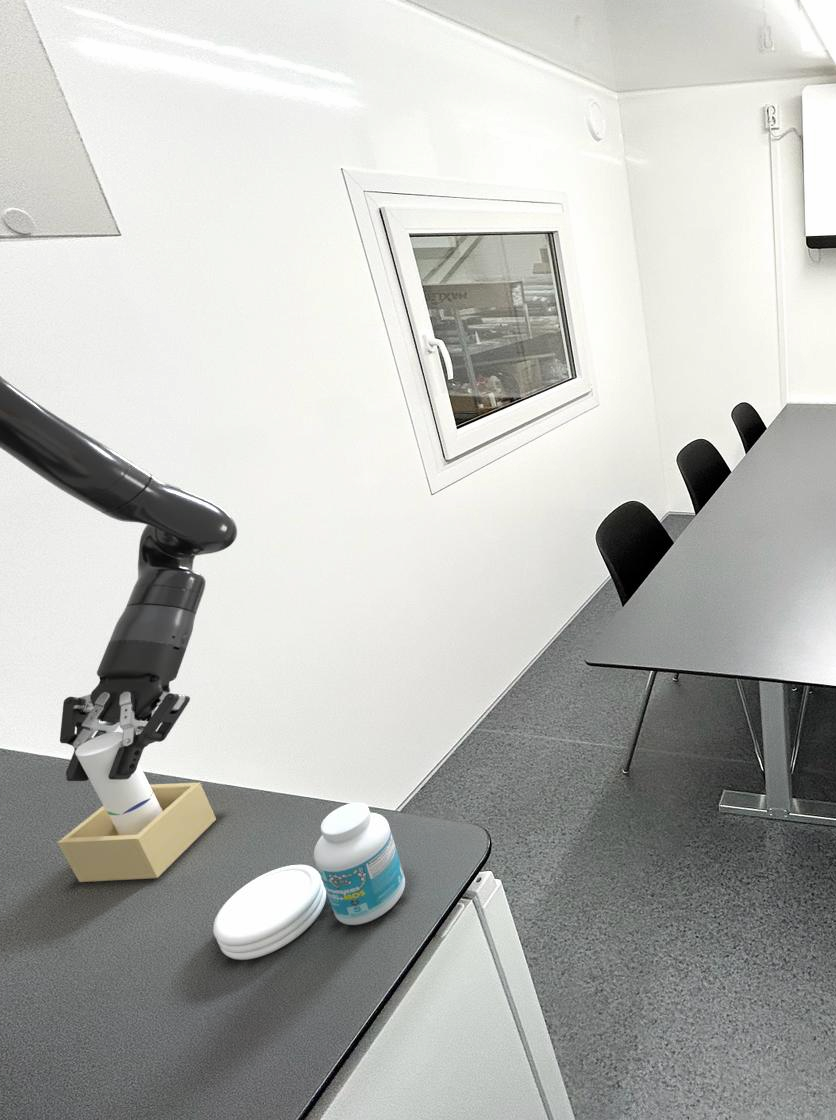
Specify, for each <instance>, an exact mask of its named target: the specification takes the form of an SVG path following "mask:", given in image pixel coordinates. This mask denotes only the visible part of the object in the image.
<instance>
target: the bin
mask: <svg viewBox="0 0 836 1120" xmlns="http://www.w3.org/2000/svg"><path fill="white" fill-rule="evenodd" d="M149 785H150V787H151V789H152V791H153V793H154V795H155V797H156V799H157V801H158V803H159V805H160V807H161V809H162V811H163V812H162V813H161V814H159V815H158V816H157V817H156V818H155V819H154V820H153V821H152V822H151V823H149V824H148V825H147V826H146V827H145V828H144V829H143V830H142V831H140V832H139V833H138V834H137V835H119V833H118V832H117V830H116V828H115V826H114V824H113V822H112V821H111V819H110V817H109V815H108V813H107V811H106V809H105V808H104V806H103V805H102V806H100V807H99V808H98V809H97V810H95V812H93V813H92V814H91V815H89V816H88V817H87V818H86V819H85V820H83V821H82V822H81V823H79V824H78V825H77V826H76V827H74V828H73V829H72V830H71V831H70V832H68V833H67V834H66V835H65V836H63V837H62V838H60V839H59V840H58V841H57V842H56V844H57V845H58V847H59V849H60V851H61V852H62V854H63V855H64V857H65V859H66V861H67V862H68V864H69V866H70V868H71V870H72V871H73V873H74V875H75V877H76V879H77V880H78V882H79V883H85V882H86V883H87V882H88V883H89V882H107V881H109V882H110V881H125V880H145V879H147V880H149V879H158V878H159V877H160V876H161V875H162V874H163V873H164V872H165V871H166V870H167V869H168V868H169V867H170V866H171V865H172V864H173V863H174V862H175V861H176V860H177V859H178V858H179V857H180V856H181V855H182V854H183V853H184V852H185V851H186V850H187V849H188V848H189V847H190V846H191V845H192V844H193V843H194V842H195V841H196V840H198V839H199V838H200V836H201V835H202V834H203V833H204V832H205V831H206V830H208V828H209V827H210V826H212V825H213V823H214V822H215V821H216V820H217V818H216V815H215V813H214V811H213V809H212V807H211V804H210V802H209V799H208V798H207V795H206V793H205V790H204V788H203V786H202V783H201V782H179V783H155V784H149Z"/></svg>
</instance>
